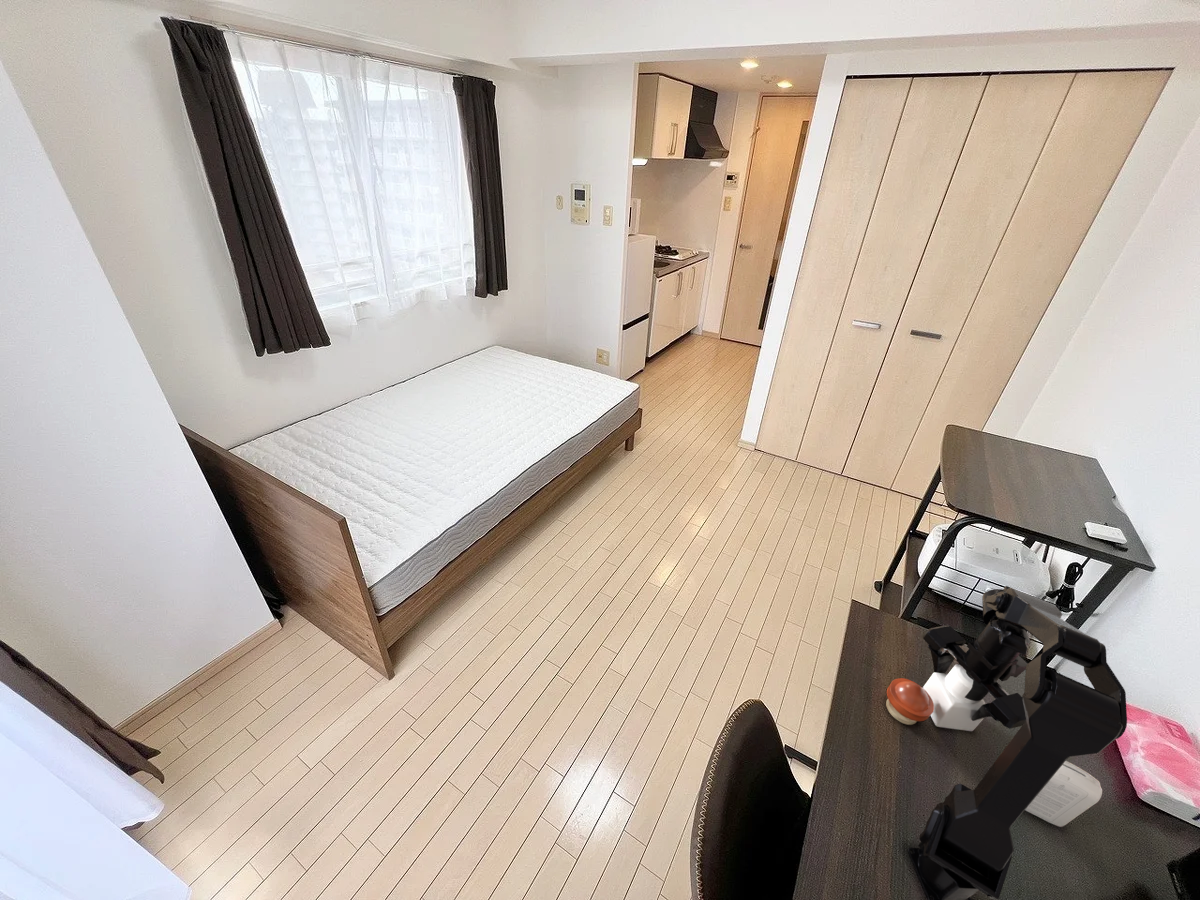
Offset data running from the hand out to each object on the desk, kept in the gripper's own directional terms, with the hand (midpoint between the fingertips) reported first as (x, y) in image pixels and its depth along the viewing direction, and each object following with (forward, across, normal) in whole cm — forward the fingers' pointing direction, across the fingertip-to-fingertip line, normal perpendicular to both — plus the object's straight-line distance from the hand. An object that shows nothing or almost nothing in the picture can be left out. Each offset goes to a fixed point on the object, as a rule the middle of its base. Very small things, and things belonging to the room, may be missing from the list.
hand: (955, 698), depth 93 cm
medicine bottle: (+5, 0, 0) cm, 5 cm away
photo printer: (+5, -16, -1) cm, 17 cm away
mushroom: (+5, +2, +9) cm, 10 cm away
